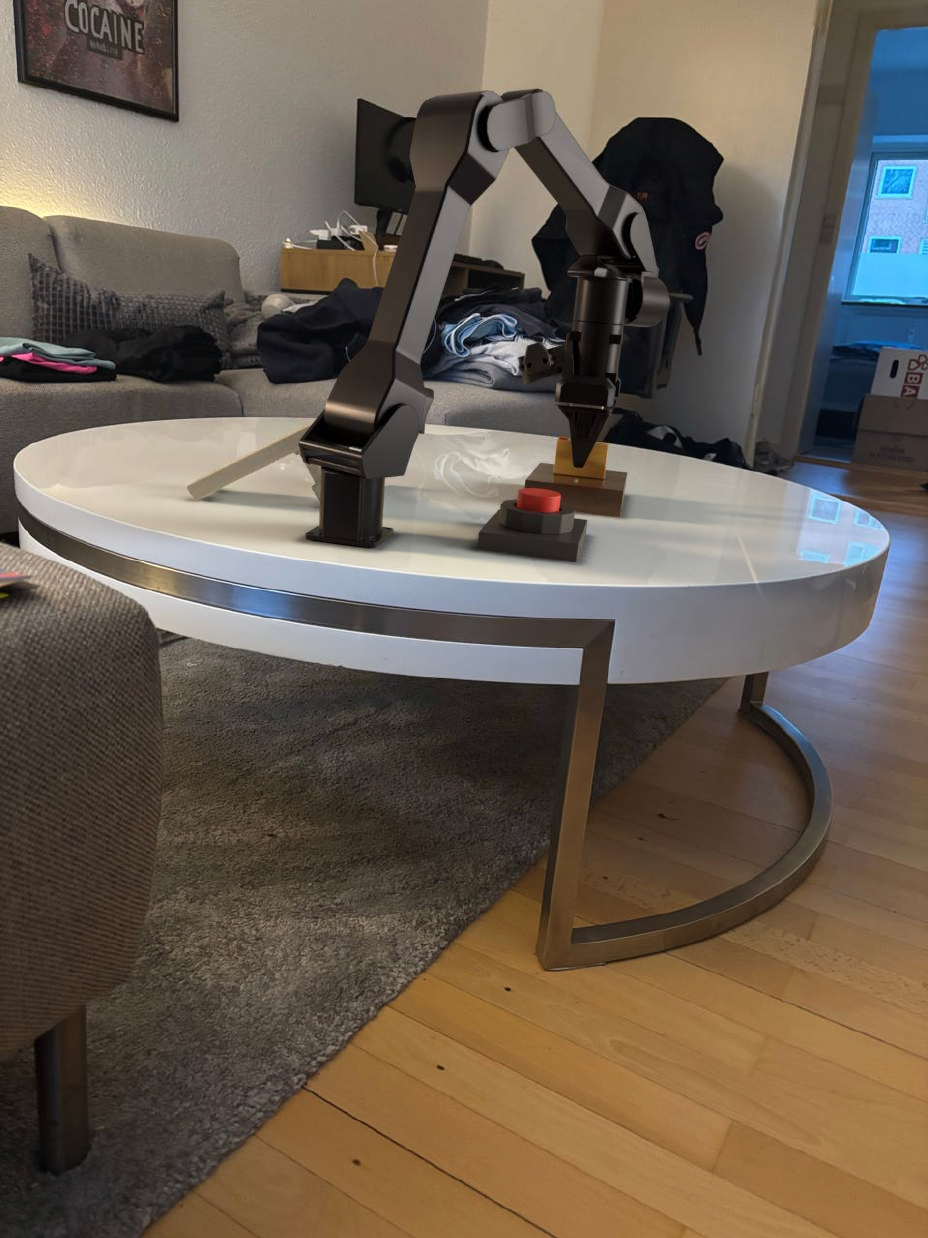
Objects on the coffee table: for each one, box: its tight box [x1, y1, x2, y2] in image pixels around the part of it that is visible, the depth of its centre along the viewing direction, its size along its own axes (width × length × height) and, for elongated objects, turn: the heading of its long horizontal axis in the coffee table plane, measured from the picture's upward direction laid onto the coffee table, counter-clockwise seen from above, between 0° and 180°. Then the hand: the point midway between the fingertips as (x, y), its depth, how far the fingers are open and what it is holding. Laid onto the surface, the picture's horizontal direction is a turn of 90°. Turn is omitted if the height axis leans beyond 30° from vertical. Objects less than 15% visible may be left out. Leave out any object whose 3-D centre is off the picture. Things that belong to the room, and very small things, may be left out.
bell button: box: [516, 488, 561, 512], centre depth 86 cm, size 4×4×2 cm
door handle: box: [186, 420, 321, 503], centre depth 99 cm, size 18×8×20 cm
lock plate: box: [523, 462, 628, 518], centre depth 109 cm, size 14×11×3 cm
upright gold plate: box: [553, 435, 610, 479], centre depth 108 cm, size 6×2×4 cm, turn 78°
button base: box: [476, 498, 588, 563], centre depth 87 cm, size 11×9×4 cm
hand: (581, 461), depth 108 cm, fingers open, 9 cm apart
